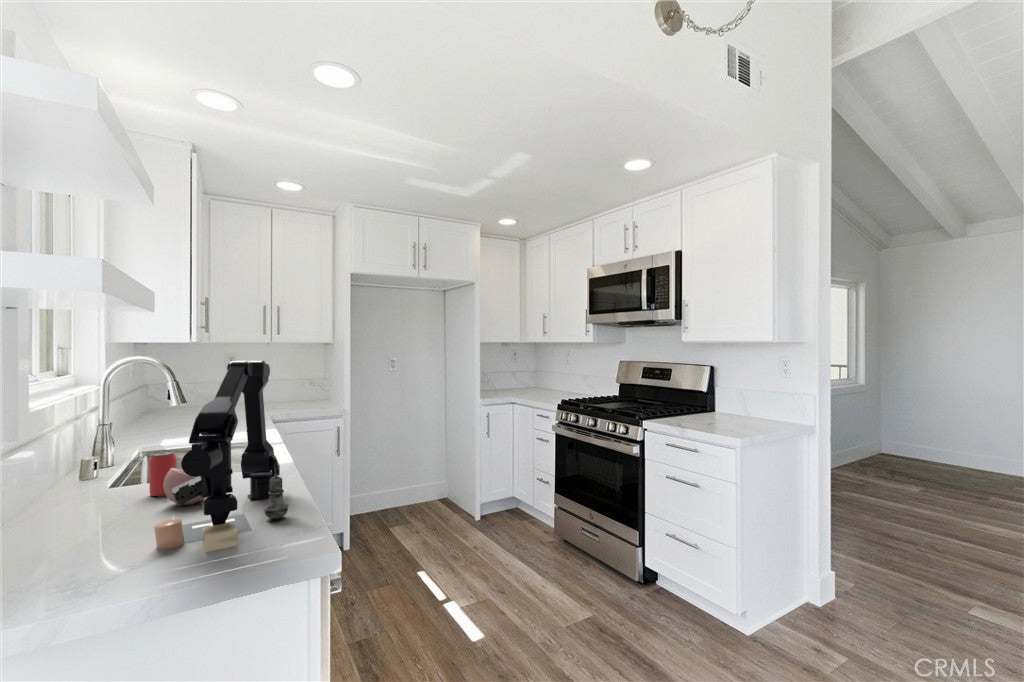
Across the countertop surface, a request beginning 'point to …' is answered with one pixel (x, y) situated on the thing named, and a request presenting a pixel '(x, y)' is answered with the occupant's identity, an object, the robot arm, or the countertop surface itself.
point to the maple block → (219, 536)
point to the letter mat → (195, 530)
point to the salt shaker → (276, 502)
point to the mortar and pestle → (175, 479)
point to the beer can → (160, 471)
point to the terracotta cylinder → (169, 534)
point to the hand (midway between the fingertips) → (217, 533)
